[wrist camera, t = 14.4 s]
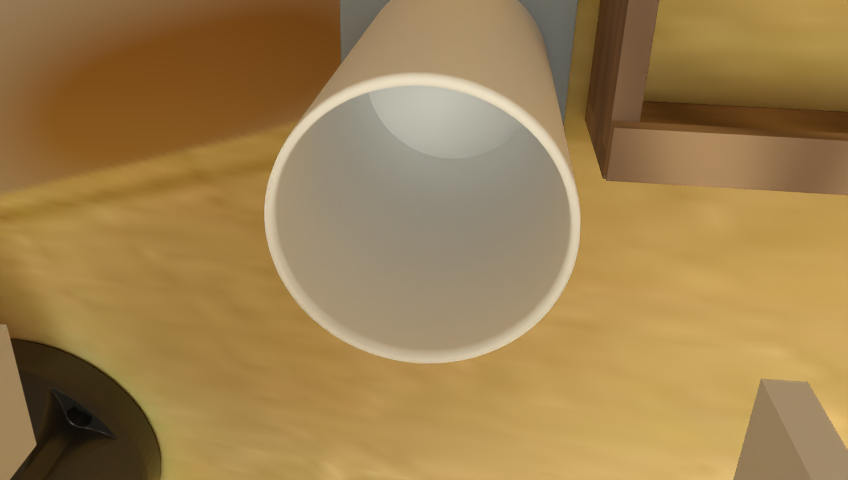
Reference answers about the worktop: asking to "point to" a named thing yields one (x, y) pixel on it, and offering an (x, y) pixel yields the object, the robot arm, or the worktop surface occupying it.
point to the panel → (546, 3)
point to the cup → (429, 186)
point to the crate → (699, 125)
